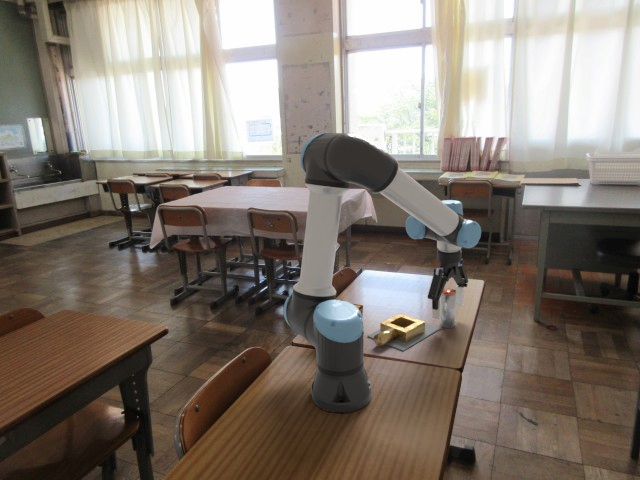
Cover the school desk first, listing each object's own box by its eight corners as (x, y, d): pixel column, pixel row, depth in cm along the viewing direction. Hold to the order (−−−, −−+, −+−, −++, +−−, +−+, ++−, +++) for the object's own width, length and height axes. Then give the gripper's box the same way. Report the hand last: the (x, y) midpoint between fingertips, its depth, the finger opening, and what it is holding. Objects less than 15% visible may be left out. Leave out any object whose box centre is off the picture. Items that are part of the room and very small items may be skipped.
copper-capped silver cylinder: (449, 329, 144) (451, 294, 141) (437, 325, 147) (438, 291, 144) (457, 324, 147) (458, 290, 144) (445, 320, 150) (446, 287, 147)
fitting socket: (391, 351, 131) (391, 340, 130) (365, 340, 138) (365, 330, 137) (424, 332, 142) (425, 321, 141) (399, 323, 149) (399, 313, 148)
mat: (403, 351, 131) (403, 350, 131) (367, 336, 141) (367, 335, 141) (440, 328, 144) (440, 327, 144) (405, 316, 154) (405, 315, 154)
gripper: (437, 261, 129) (436, 327, 135) (480, 242, 146) (478, 302, 151) (416, 256, 135) (416, 320, 140) (459, 239, 151) (458, 297, 156)
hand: (448, 311), depth 146 cm, fingers open, 13 cm apart
